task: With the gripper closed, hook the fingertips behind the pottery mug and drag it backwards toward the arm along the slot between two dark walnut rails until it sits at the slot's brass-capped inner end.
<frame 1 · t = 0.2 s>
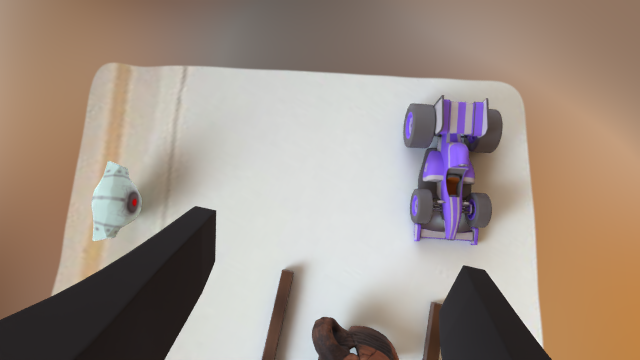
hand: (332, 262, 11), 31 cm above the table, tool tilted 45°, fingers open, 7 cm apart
toy race car: (442, 177, 44), on the table
robot head: (136, 208, 42), on the table
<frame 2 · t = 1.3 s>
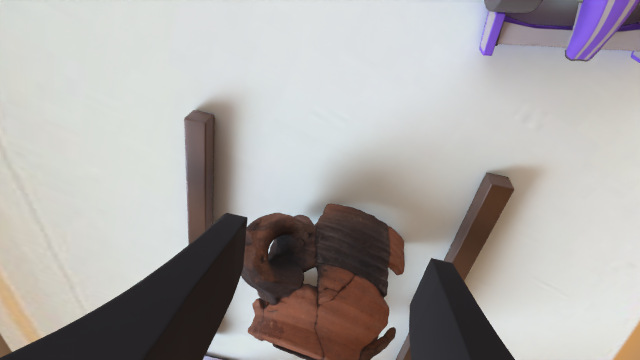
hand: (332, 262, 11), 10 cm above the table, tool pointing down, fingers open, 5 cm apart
walnut slot: (318, 270, 26), on the table
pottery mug: (324, 247, 25), on the table
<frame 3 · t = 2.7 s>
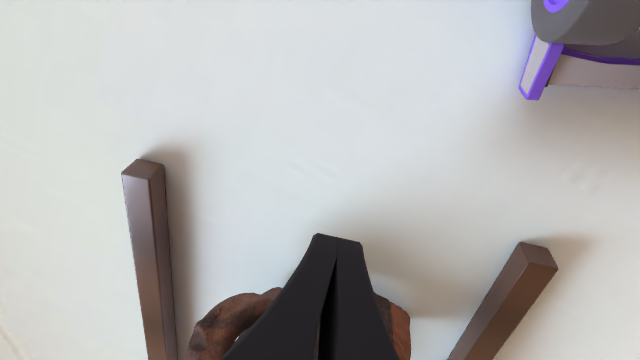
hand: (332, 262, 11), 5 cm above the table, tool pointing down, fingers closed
walnut slot: (304, 343, 21), on the table
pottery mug: (310, 318, 20), on the table
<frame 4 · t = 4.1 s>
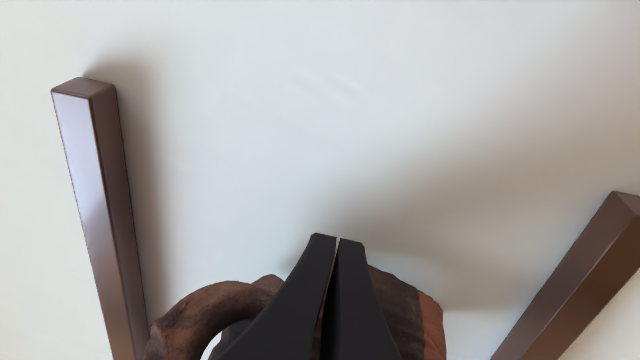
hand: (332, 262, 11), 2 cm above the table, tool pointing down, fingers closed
walnut slot: (309, 337, 17), on the table
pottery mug: (315, 315, 16), on the table, touching gripper
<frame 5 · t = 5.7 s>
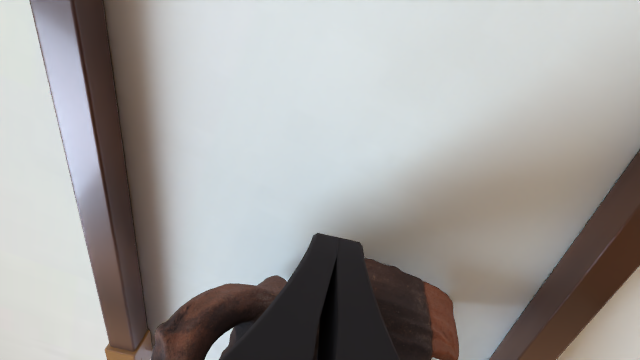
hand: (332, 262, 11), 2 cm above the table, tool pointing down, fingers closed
walnut slot: (333, 239, 14), on the table
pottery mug: (325, 314, 16), on the table, touching gripper
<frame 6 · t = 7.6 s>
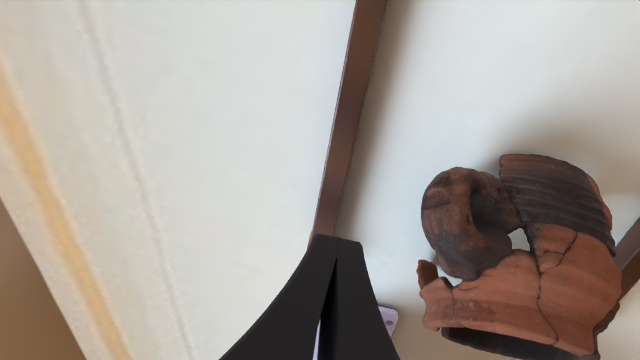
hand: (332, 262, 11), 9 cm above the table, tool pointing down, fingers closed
walnut slot: (514, 143, 18), on the table
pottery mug: (487, 214, 21), on the table
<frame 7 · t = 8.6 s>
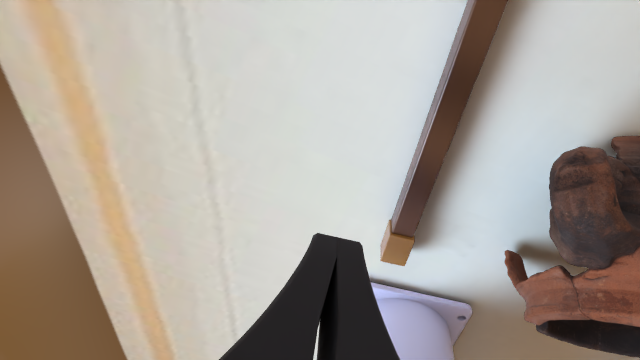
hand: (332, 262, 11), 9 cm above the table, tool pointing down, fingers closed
walnut slot: (629, 124, 17), on the table
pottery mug: (584, 201, 20), on the table
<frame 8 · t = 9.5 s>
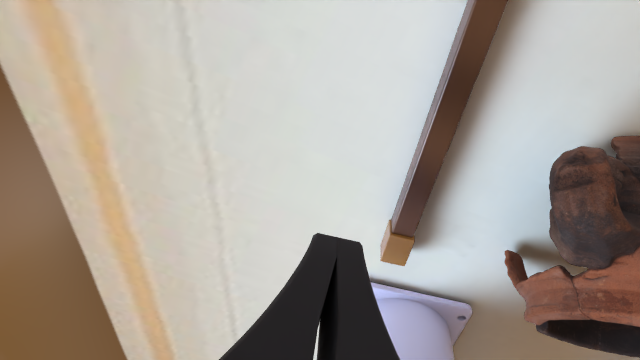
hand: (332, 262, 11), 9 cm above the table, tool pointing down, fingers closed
walnut slot: (629, 124, 17), on the table
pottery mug: (584, 201, 20), on the table
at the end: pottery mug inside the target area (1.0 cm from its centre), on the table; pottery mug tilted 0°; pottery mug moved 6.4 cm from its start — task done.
